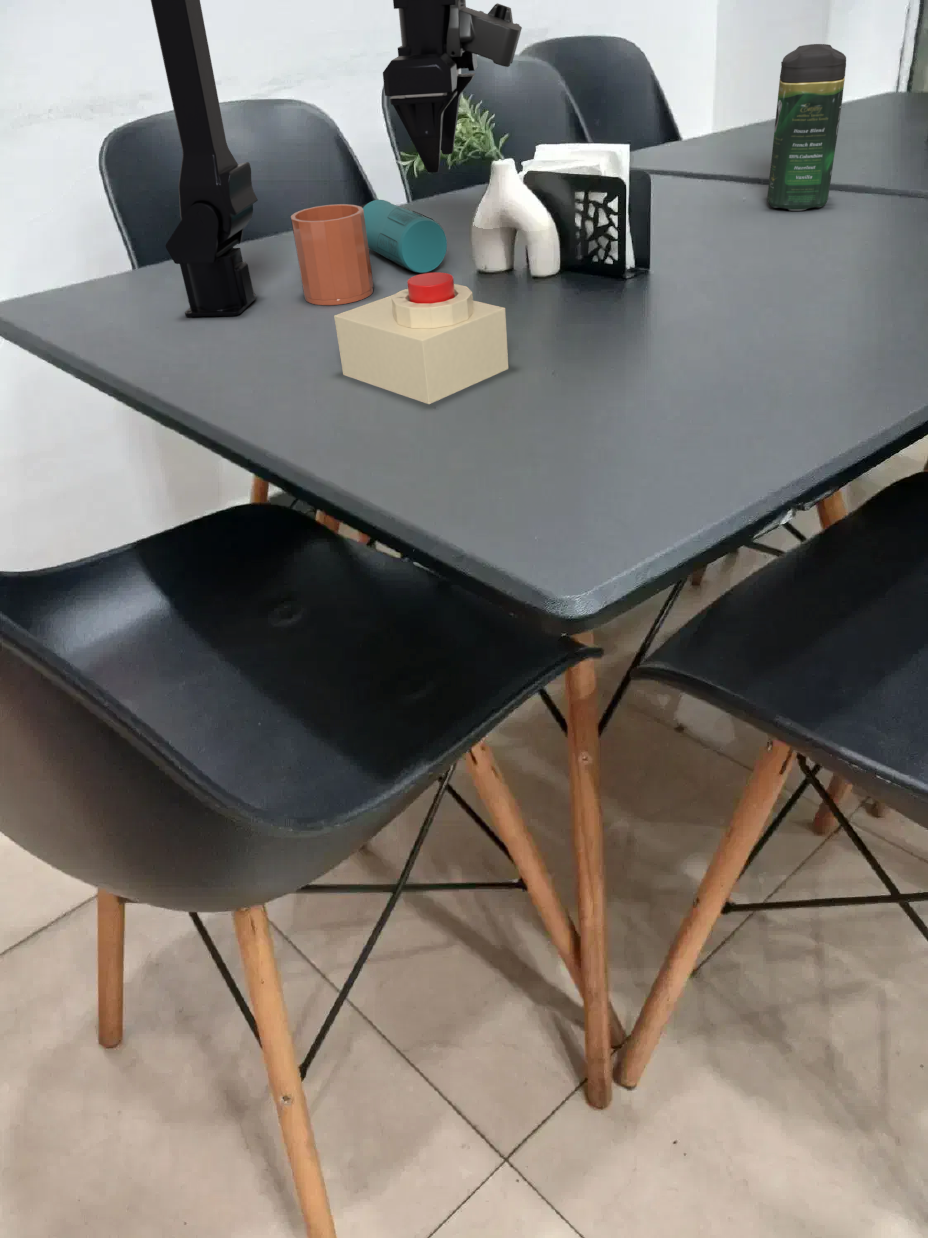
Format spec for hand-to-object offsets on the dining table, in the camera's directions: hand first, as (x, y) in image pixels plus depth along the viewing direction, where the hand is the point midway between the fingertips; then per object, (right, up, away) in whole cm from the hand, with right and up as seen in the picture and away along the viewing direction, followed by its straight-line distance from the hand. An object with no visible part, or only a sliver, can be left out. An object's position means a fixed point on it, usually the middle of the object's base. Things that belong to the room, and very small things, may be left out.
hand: (440, 162), depth 99 cm
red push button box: (-1, -23, -8) cm, 25 cm away
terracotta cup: (-12, -9, +14) cm, 21 cm away
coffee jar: (+47, +9, +32) cm, 58 cm away
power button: (0, -18, -14) cm, 23 cm away
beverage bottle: (-2, -3, +15) cm, 16 cm away
